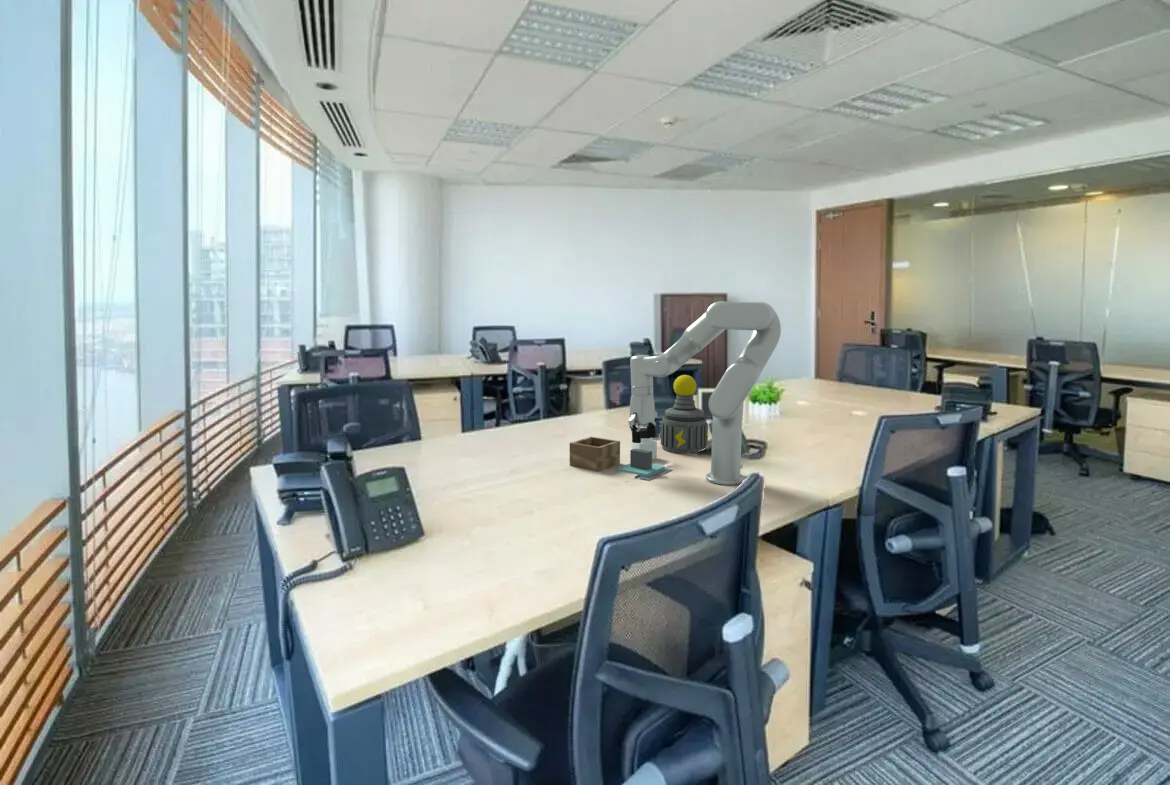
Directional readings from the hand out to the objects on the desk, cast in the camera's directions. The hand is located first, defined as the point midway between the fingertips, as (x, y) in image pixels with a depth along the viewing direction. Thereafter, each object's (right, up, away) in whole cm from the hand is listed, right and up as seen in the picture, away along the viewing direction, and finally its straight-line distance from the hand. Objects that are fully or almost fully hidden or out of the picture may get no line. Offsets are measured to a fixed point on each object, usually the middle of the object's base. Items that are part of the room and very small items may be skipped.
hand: (644, 440), depth 215 cm
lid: (-1, -11, +2) cm, 11 cm away
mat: (-1, -11, +2) cm, 11 cm away
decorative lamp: (+19, -6, +35) cm, 41 cm away
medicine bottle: (+2, -9, +19) cm, 21 cm away
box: (-17, -10, +9) cm, 22 cm away
